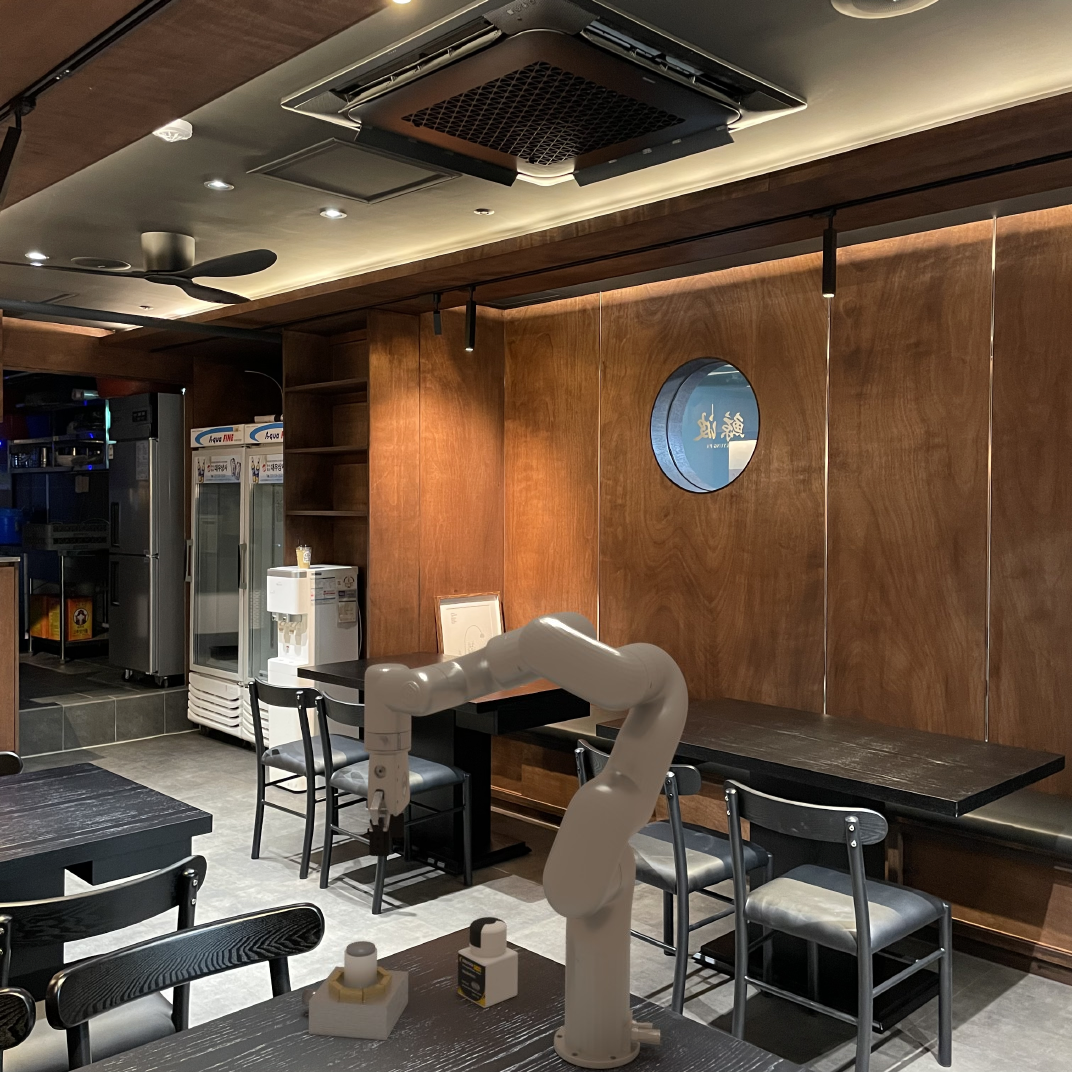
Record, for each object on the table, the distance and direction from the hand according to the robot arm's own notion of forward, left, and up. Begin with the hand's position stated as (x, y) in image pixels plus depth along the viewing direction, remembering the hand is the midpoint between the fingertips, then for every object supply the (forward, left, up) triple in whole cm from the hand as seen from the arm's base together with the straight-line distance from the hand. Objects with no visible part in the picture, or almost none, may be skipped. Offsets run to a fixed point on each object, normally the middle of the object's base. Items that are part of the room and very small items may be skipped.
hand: (387, 846), depth 163 cm
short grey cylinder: (+2, +8, -19) cm, 21 cm away
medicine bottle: (-16, -3, -25) cm, 30 cm away
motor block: (+3, +8, -24) cm, 26 cm away
